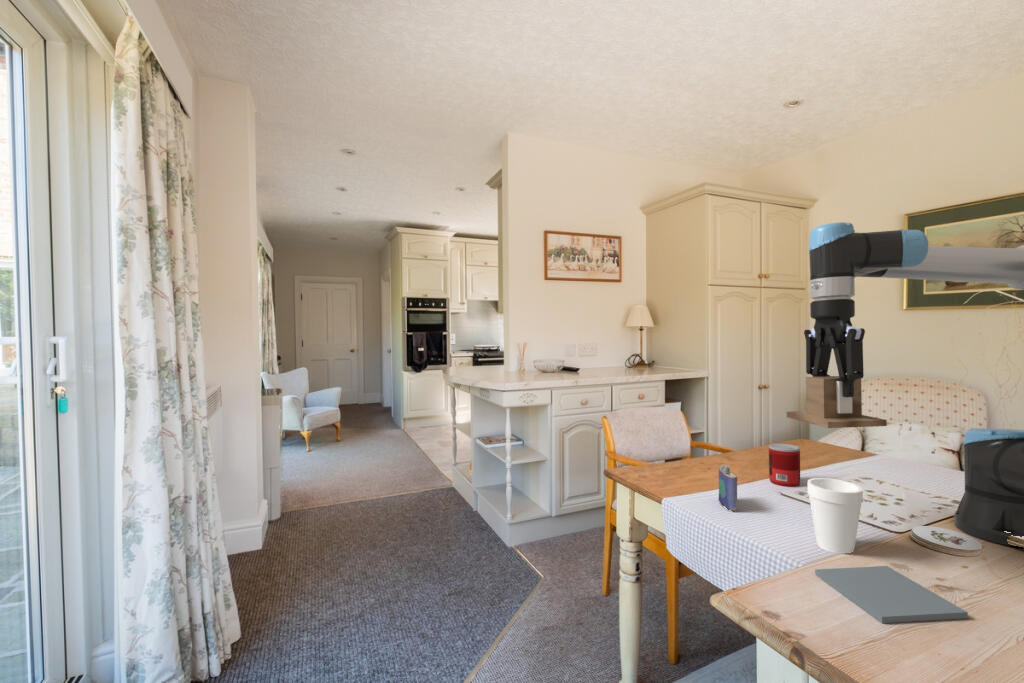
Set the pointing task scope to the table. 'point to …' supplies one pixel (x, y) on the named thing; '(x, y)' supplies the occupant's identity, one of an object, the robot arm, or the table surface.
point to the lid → (832, 406)
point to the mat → (889, 595)
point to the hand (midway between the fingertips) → (833, 410)
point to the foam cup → (835, 513)
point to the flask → (727, 488)
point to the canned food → (784, 465)
